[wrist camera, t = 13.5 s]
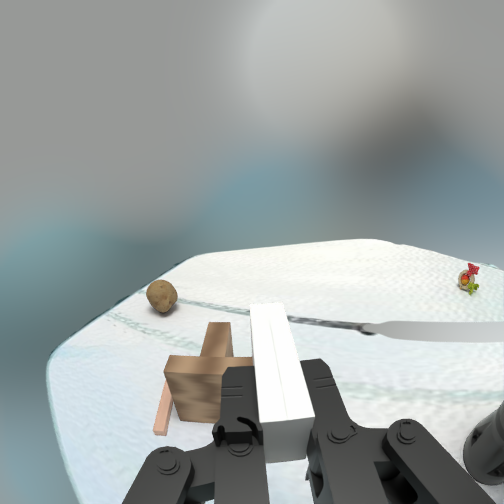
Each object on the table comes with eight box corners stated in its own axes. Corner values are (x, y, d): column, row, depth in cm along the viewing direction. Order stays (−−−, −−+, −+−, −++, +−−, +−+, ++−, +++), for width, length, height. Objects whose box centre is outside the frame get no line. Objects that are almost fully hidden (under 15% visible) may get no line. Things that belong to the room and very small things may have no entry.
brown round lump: (168, 300, 85) (162, 271, 82) (186, 309, 80) (181, 278, 77) (145, 312, 78) (138, 282, 75) (162, 322, 73) (155, 290, 70)
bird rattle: (456, 296, 78) (477, 295, 70) (453, 266, 79) (474, 263, 71) (462, 291, 81) (482, 290, 73) (459, 263, 81) (478, 260, 73)
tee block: (259, 372, 55) (257, 321, 50) (259, 424, 41) (257, 374, 37) (193, 371, 55) (183, 321, 51) (180, 420, 42) (163, 371, 37)
